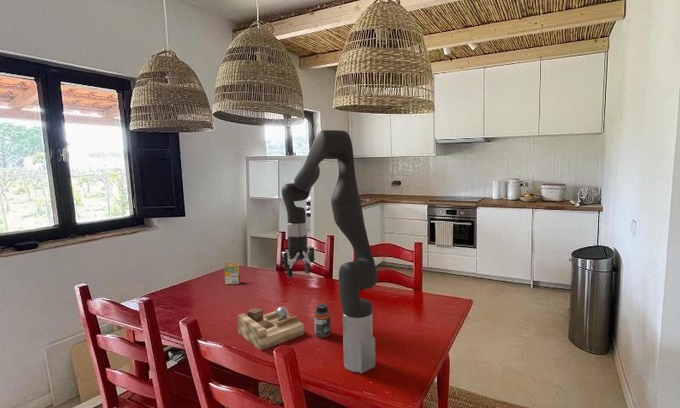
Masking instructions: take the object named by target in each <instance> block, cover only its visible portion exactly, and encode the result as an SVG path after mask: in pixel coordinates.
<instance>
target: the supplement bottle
mask: <svg viewBox="0 0 680 408" xmlns="http://www.w3.org/2000/svg"><path fill="white" fill-rule="evenodd" d="M313 313H314V314H313V315H314V316H313V317H314V318H313V319H314V335H315V336H316V337H317V338H321V339H324V338H329V336H331V333H332V329H331V328H332V326H331V325H332V324H331V311H330V310H329V309H328V304H326V303H318V304H317V305H316V309H315V311H314V312H313Z"/></svg>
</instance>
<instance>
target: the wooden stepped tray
mask: <svg viewBox="0 0 680 408" xmlns="http://www.w3.org/2000/svg"><path fill="white" fill-rule="evenodd" d="M275 312H276V310H275V311H272V312H269V313H265V314H263V320H262V321H260V322H256V321H254V320H253V319H251V318H250V317H248V314H246V313H240V314H238V315H237V329H238V331H237V332H238V334H239V335H240V336H242V337H243V338H244V339H246V340H247V341H248V342H249V343H250V344H252V345H253V346H255V348H257V349H258V350H259V351H263V350H266V349H268V348H272V347H274V346H276V345H279V344H282V343H284V342H287V341H290V340H293V339H295V338H297V337H300V336H303V335H305V324H304V323H303V322H301V321H299V320H298V316H297V315H294V316H290V315H289V314H288V317H287V318H286V319H284V320H279V319H277V318H276V315H275Z"/></svg>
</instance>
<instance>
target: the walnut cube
mask: <svg viewBox="0 0 680 408" xmlns="http://www.w3.org/2000/svg"><path fill="white" fill-rule="evenodd" d="M263 315H264V310H263V309H262V308H257V307H254V308H251V309H249V310H247V316H248V317H250V318H251V319H253V320H254V321H256V322H260V321H262V320H263Z"/></svg>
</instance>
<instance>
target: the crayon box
mask: <svg viewBox="0 0 680 408" xmlns="http://www.w3.org/2000/svg"><path fill="white" fill-rule="evenodd" d="M240 275H241V274H240V265H239V262H231V263H224V281H225V282H224V283H225V285H238V284H240V283H241V278H240V277H241V276H240Z"/></svg>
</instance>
